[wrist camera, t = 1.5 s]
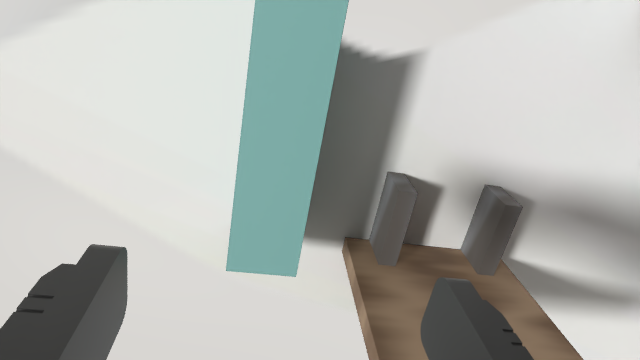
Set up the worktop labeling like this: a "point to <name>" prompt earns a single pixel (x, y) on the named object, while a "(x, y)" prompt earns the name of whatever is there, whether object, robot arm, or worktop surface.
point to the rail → (282, 130)
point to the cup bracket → (432, 263)
